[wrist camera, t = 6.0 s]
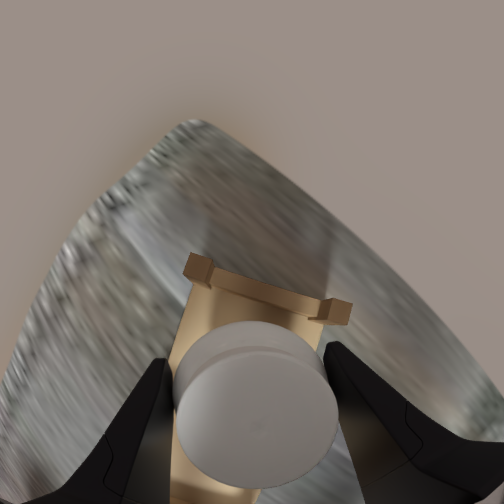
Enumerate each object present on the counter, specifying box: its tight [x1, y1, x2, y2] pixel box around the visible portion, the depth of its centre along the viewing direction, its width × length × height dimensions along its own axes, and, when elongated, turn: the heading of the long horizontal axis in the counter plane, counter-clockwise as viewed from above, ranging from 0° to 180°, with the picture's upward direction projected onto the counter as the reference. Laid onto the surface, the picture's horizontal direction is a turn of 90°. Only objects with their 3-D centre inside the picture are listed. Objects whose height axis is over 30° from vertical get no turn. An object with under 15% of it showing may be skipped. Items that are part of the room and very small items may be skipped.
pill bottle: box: [172, 321, 339, 489], centre depth 10 cm, size 5×5×10 cm
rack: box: [168, 252, 353, 504], centre depth 14 cm, size 9×19×5 cm, turn 162°
